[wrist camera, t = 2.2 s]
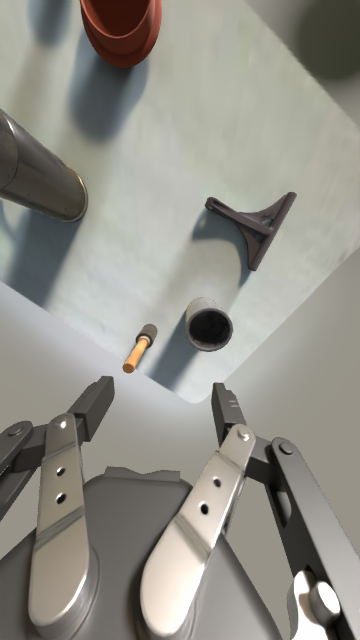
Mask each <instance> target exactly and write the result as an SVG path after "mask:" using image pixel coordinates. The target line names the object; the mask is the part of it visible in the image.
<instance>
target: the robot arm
mask: <svg viewBox="0 0 360 640" xmlns="http://www.w3.org/2000/svg"><path fill="white" fill-rule="evenodd" d="M66 165H67V164H66ZM66 165H65V164H64V163H63V162H62V160H61V159H60V160H59V159H58V158H57V157H56V155H54V154H52V153H51V152H50V150H48V149H47V148H46V147H44V146H43V145H42V144H41V143H40V142H39V141H37V140H36V139H35V138H34V137H33V136H32V135H30V134H29V133H28V132H27V131H26V130H25V129H23V128H22V127H21V126H20V125H19V124H18V123H17V122H15V121H14V120H13V119H12V118H11V117H10V116H8V115H7V114H6V113H5V112H4V111H3V110H1V109H0V197H1V198H4V199H7V200H9V201H12V202H14V203H17V204H20V205H22V206H25V207H27V208H30V209H32V210H35V211H38V212H40V213H43V214H45V215H48V216H50V217H53V218H55V219H57V220H59V221H62V222H66V223H71V222H75V221H77V220H79V219H80V218H81V217H82V216H83V215H84V214H85V212H86V209H87V205H88V194H87V190H86V187H85V185H84V183H83V181H82V180H81V178H80V177H79V176H78V175H77V174H76V173H75V172H74V171H73V170H72V169H70V168H69V167H67V166H66ZM114 393H115V392H114V381H113V377H112V376H102V377H101V378H100V379H99V381H98V382H94V383H93V384H91V385H90V386H88V387H87V388H86V390H85V391H84V393H82V394H81V396H80V397H79V398H78V399H77V400H76V402H75V403H74V404H73V405H72V406H71V408H70V409H69V410H68V411H67V412H66V413H64V414H61V415H59V416H57V417H55V418H54V419H52V420H51V422H49V424H45V425H41V426H36V427H33V425H32V423H31V422H30V421H21V422H18V423H16V424H13V425H12V426H10V427H8V428H7V429H6V430H4V431H3V432H2V433H1V434H0V474H1V473H2V471H4V472H3V473H2V474H1V475H0V521H1V520H2V519H3V517H4V516H5V514H6V513H7V511H8V510H9V508H10V507H11V505H12V504H13V503H14V501H15V500H16V498H17V497H18V495H19V494H20V492H21V491H22V490H23V488H24V487H25V485H26V484H27V482H28V481H29V479H30V478H31V477H32V475H33V474H34V472H35V471H36V469H37V468H38V467H39V466H41V477H40V490H39V504H38V518H37V527H36V528H35V529H34V530H33V531H32V532H31V533H29V534H28V535H27V536H26V537H25V538H24V539H23V540H22V541H21V542H20V543H18V544H17V545H16V546H15V547H14V548H13V549H12V550H11V551H10V552H9V553H8V554H6V555H5V556H4V557H3V558H2V559H1V560H0V640H282V637H281V635H280V633H279V630H278V628H277V626H276V624H275V622H274V620H273V618H272V616H271V614H270V613H269V611H268V609H267V607H266V606H265V604H264V603H263V601H262V599H261V597H260V596H259V594H258V593H257V591H256V589H255V587H254V586H253V584H252V582H251V580H250V579H249V577H248V576H247V574H246V572H245V570H244V569H243V567H242V565H241V564H240V562H239V560H238V559H237V557H236V555H235V554H234V552H233V550H232V548H231V547H230V545H229V543H228V542H227V540H226V536H227V533H228V531H229V528H230V525H231V522H232V519H233V515H234V512H235V509H236V506H237V503H238V500H239V497H240V495H241V492H242V489H243V486H244V483H245V480H246V477H249V478H252V479H254V480H256V481H258V482H261V483H263V484H264V486H265V489H266V492H267V495H268V499H269V501H270V505H271V508H272V511H273V514H274V517H275V521H276V524H277V527H278V530H279V534H280V537H281V540H282V543H283V546H284V549H285V552H286V556H287V559H288V562H289V565H290V568H291V572H292V575H293V578H294V581H293V583H292V585H291V587H290V589H289V591H288V594H287V609H288V614H289V620H290V627H291V637H290V640H360V557H359V556H358V554H357V552H356V550H355V549H354V547H353V545H352V543H351V542H350V540H349V538H348V536H347V534H346V533H345V531H344V529H343V528H342V526H341V524H340V522H339V521H338V519H337V517H336V515H335V513H334V512H333V510H332V508H331V506H330V505H329V503H328V501H327V499H326V497H325V496H324V494H323V492H322V491H321V489H320V487H319V485H318V483H317V482H316V480H315V478H314V476H313V474H312V473H311V471H310V469H309V467H308V466H307V464H306V462H305V460H304V459H303V457H302V455H301V453H300V452H299V450H298V449H297V447H296V446H295V445H294V444H293V443H291V442H290V441H288V440H287V439H284V438H280V437H277V438H274V439H273V440H272V442H270V441H268V440H265V439H262V438H260V437H258V436H256V435H255V434H254V432H253V431H252V430H251V429H250V428H249V427H248V426H247V425H246V422H245V419H244V417H243V414H242V412H241V409H240V407H239V404H238V402H237V399H236V396H235V395H234V394H233V393H232V391H231V390H226V389H225V386H224V383H213V391H212V400H211V404H212V411H213V416H214V421H215V426H216V432H217V437H218V442H219V448H220V449H219V450H218V451H215V452H214V453H213V455H212V457H211V458H210V460H209V462H208V463H207V465H206V467H205V469H204V470H203V472H202V474H201V476H200V477H199V479H198V481H197V482H196V484H195V485H194V487H193V486H192V485H190V484H189V483H188V482H186V481H185V480H183V479H180V471H169V470H167V471H166V470H161V471H156V472H152V473H147V474H139V473H137V472H134V471H132V470H129V469H127V468H124V467H108V466H107V468H106V470H105V473H104V474H101V475H99V476H96V477H94V478H92V479H91V480H89V481H87V482H86V483H85V478H84V470H83V463H82V455H81V448H80V446H81V445H82V443H83V441H84V442H90V441H91V439H92V437H93V435H94V434H95V432H96V430H97V428H98V426H99V425H100V423H101V421H102V419H103V417H104V415H105V414H106V412H107V410H108V408H109V407H110V405H111V403H112V401H113V399H114ZM8 465H9V466H8ZM7 466H8V467H7ZM6 467H7V468H6ZM5 468H6V469H5ZM4 469H5V470H4Z"/></svg>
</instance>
